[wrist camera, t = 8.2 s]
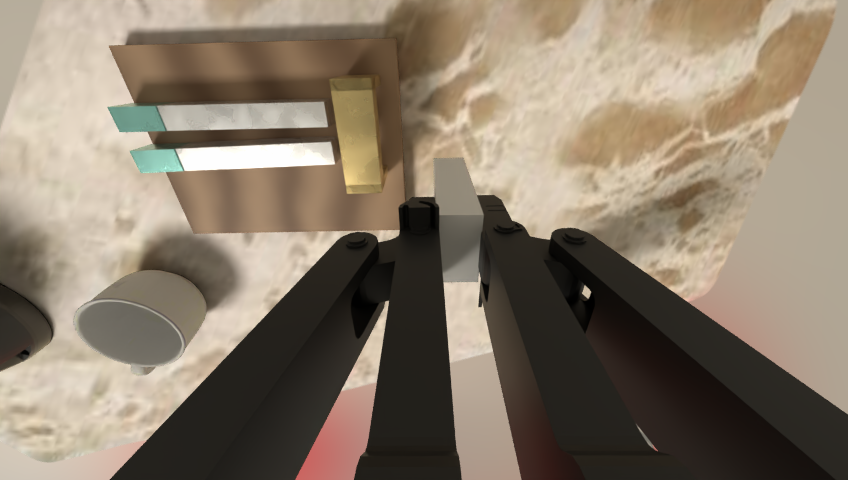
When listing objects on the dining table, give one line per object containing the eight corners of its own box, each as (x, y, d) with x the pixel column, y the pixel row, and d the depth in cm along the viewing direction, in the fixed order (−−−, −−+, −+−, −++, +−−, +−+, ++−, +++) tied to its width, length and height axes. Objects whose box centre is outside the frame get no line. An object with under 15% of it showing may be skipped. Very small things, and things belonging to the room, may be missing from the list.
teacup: (138, 244, 38) (74, 285, 31) (229, 281, 41) (189, 327, 34) (125, 316, 44) (69, 364, 37) (205, 344, 47) (167, 394, 40)
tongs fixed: (152, 142, 30) (128, 149, 28) (134, 102, 28) (107, 107, 26) (368, 137, 30) (363, 144, 27) (364, 97, 28) (358, 101, 26)
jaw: (161, 164, 31) (140, 173, 29) (151, 144, 30) (129, 151, 28) (341, 156, 30) (334, 164, 28) (337, 135, 29) (330, 142, 27)
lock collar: (358, 173, 31) (347, 193, 27) (345, 75, 27) (329, 78, 22) (388, 173, 31) (381, 193, 27) (379, 74, 27) (370, 77, 22)
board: (202, 226, 37) (193, 233, 35) (124, 46, 27) (108, 45, 26) (407, 223, 36) (406, 229, 35) (396, 39, 27) (395, 38, 26)
